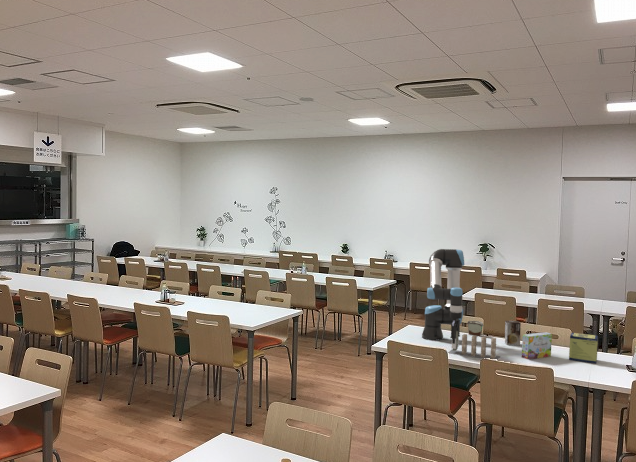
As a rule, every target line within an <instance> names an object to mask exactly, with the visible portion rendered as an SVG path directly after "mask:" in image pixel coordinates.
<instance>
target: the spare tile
mask: <svg viewBox="0 0 636 462" xmlns="http://www.w3.org/2000/svg"><path fill="white" fill-rule="evenodd" d="M458 347H459V342H458V331H456V349H454V348H452V347H451V350H453V351H456V350H458Z"/></svg>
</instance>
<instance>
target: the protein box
mask: <svg viewBox="0 0 636 462" xmlns="http://www.w3.org/2000/svg"><path fill="white" fill-rule="evenodd" d="M598 342H599V336H598V335H595V334H586V333H577V332H571V333H570V335H569V352H568V360H569V361H575V362H581V363H589V364H595V365H596V364H597V363H598V362H597V361H598V360H597V359H598V348H599V347H598V346H599V343H598Z"/></svg>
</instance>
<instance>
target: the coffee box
mask: <svg viewBox="0 0 636 462" xmlns="http://www.w3.org/2000/svg"><path fill="white" fill-rule="evenodd" d="M504 323H505V324H504V344H505V345H506V346H521V322H520V321H519V320H505V321H504Z"/></svg>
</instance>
